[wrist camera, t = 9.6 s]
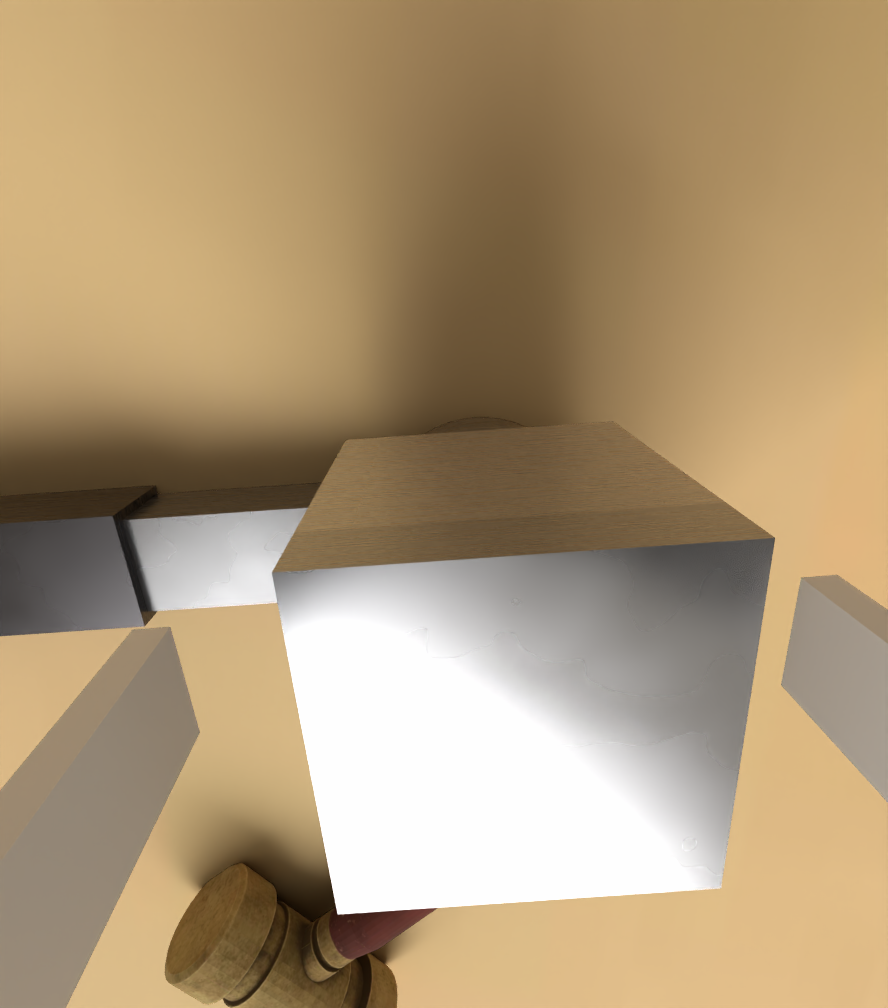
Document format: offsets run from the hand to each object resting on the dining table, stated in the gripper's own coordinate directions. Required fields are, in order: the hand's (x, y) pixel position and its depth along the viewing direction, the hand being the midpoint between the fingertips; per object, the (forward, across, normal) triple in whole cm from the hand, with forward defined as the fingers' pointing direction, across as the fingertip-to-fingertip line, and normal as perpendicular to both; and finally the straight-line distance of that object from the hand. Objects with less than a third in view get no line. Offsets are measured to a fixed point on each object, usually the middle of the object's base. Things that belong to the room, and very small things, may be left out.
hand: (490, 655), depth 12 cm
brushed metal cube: (+5, 0, 0) cm, 6 cm away
